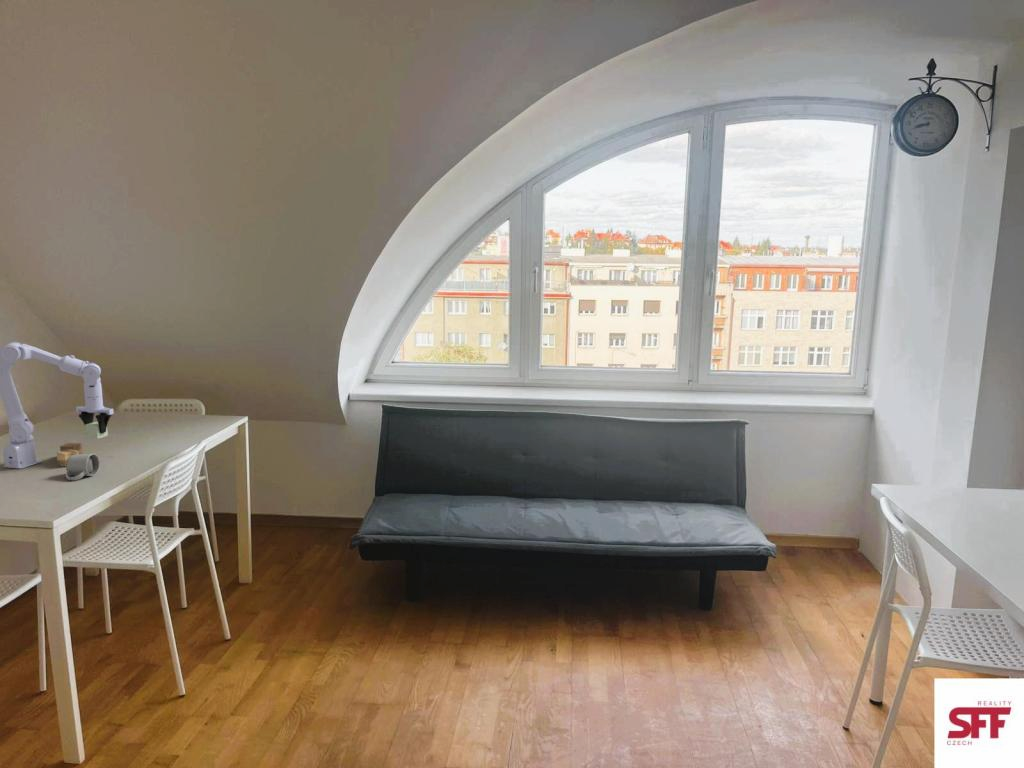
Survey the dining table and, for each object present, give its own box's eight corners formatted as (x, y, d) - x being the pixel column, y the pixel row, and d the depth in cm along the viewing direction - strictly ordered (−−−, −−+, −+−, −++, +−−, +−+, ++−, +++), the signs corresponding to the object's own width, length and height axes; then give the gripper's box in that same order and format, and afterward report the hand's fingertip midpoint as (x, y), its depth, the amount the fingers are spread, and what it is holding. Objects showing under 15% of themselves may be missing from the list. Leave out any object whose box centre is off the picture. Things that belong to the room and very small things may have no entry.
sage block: (97, 438, 275) (96, 425, 274) (86, 437, 276) (85, 424, 275) (107, 435, 280) (106, 422, 279) (96, 434, 281) (95, 421, 280)
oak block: (66, 467, 267) (64, 453, 267) (57, 465, 270) (56, 452, 269) (79, 464, 272) (78, 450, 271) (71, 462, 274) (70, 448, 273)
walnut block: (74, 459, 277) (73, 446, 276) (61, 459, 277) (60, 446, 277) (82, 456, 282) (81, 443, 281) (69, 455, 282) (68, 442, 281)
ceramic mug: (78, 471, 262) (75, 450, 261) (101, 472, 262) (98, 451, 261) (59, 481, 252) (56, 459, 250) (83, 481, 252) (81, 460, 250)
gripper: (118, 395, 278) (121, 431, 280) (85, 393, 281) (88, 428, 283) (104, 399, 271) (107, 435, 273) (70, 396, 274) (73, 432, 276)
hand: (96, 432), depth 278 cm, fingers closed on sage block, 5 cm apart
